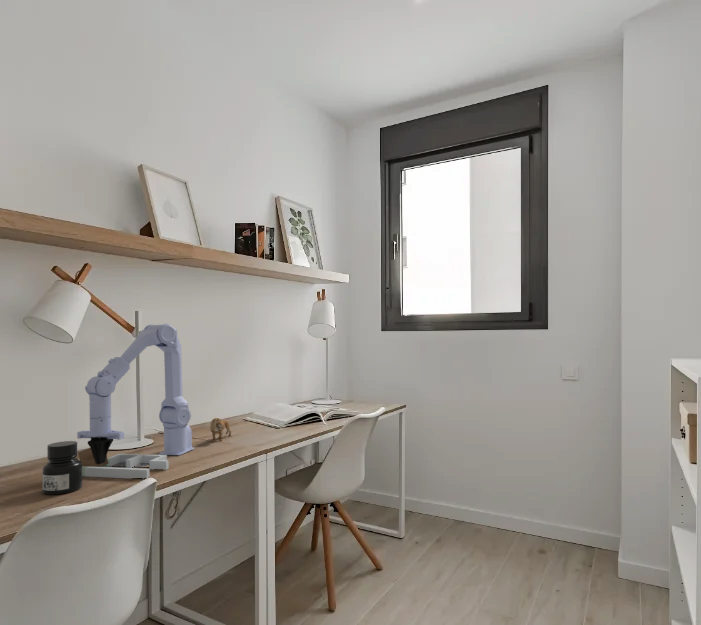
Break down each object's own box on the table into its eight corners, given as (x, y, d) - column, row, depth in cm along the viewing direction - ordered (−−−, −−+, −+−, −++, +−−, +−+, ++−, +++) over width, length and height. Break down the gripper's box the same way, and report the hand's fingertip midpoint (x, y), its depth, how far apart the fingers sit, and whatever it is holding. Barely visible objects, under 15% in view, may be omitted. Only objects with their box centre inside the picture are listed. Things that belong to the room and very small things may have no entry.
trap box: (102, 460, 159) (102, 453, 160) (179, 463, 153) (179, 455, 153) (62, 475, 144) (62, 466, 144) (146, 479, 137) (146, 470, 137)
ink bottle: (33, 493, 127) (33, 446, 128) (64, 483, 135) (64, 439, 136) (60, 497, 124) (60, 448, 124) (90, 486, 132) (90, 441, 132)
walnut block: (95, 467, 151) (91, 448, 152) (108, 463, 150) (103, 444, 151) (82, 472, 147) (77, 452, 147) (95, 467, 145) (90, 447, 146)
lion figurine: (222, 443, 181) (221, 418, 181) (207, 443, 181) (207, 418, 181) (233, 435, 195) (232, 412, 196) (219, 435, 196) (219, 412, 196)
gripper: (69, 419, 145) (69, 466, 144) (112, 419, 142) (112, 467, 141) (87, 415, 152) (87, 459, 151) (128, 415, 149) (129, 461, 148)
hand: (100, 463), depth 147 cm, fingers closed
